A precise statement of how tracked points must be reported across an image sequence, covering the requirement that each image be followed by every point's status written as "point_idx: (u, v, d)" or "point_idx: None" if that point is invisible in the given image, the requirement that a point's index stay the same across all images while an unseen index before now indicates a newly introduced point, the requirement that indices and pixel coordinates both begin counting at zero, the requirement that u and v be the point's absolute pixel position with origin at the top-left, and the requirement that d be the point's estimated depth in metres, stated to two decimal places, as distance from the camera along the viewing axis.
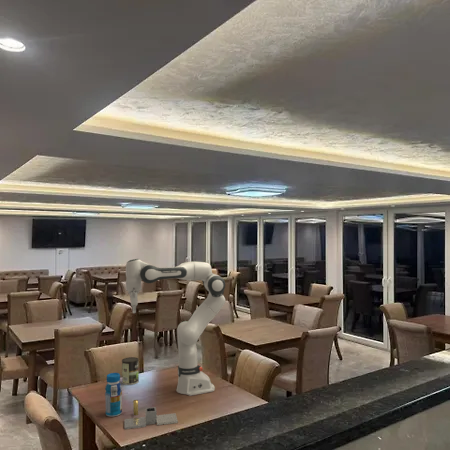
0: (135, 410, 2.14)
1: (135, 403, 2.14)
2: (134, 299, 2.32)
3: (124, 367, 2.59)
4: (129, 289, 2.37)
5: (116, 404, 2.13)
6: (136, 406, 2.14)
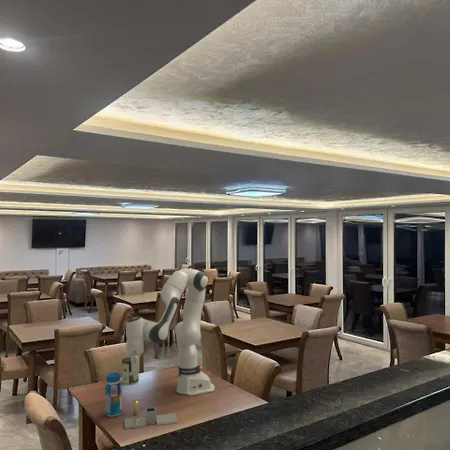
0: (135, 410, 2.14)
1: (135, 403, 2.14)
2: (135, 365, 2.06)
3: (124, 367, 2.59)
4: (130, 352, 2.11)
5: (116, 404, 2.13)
6: (136, 406, 2.14)
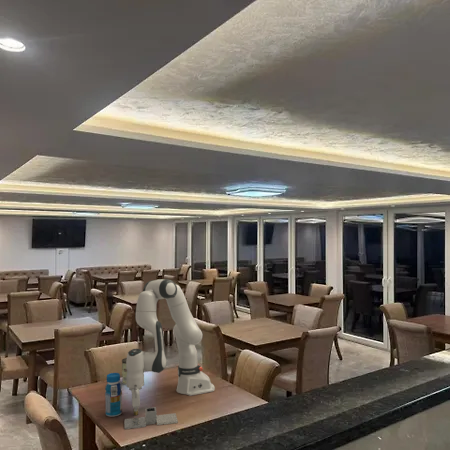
0: None
1: None
2: (136, 400, 2.05)
3: (124, 367, 2.59)
4: (130, 386, 2.11)
5: (116, 404, 2.13)
6: None
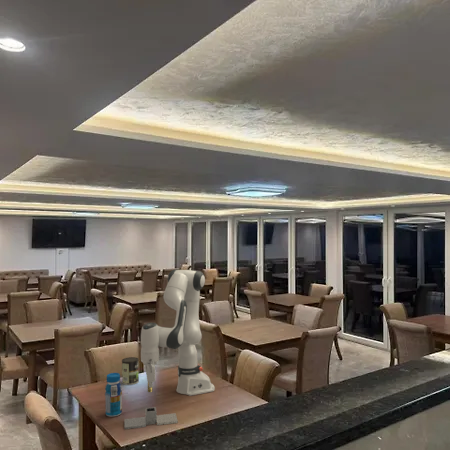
0: (149, 387, 2.05)
1: None
2: (151, 374, 1.97)
3: (124, 367, 2.59)
4: (145, 361, 2.02)
5: (116, 404, 2.13)
6: None
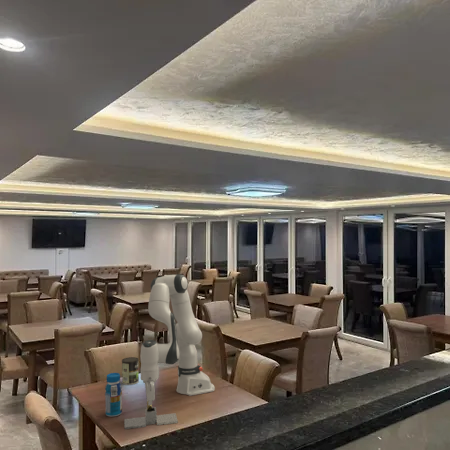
0: None
1: None
2: (151, 393, 1.96)
3: (124, 367, 2.59)
4: (144, 379, 2.02)
5: (116, 404, 2.13)
6: None
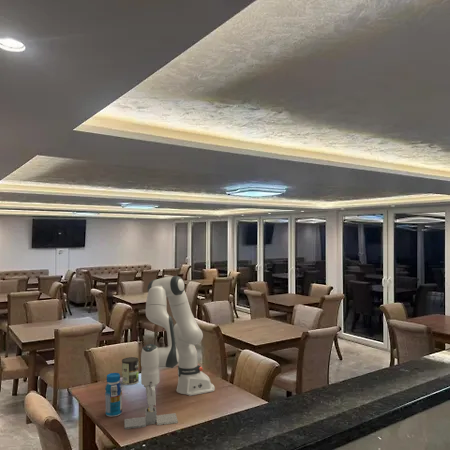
0: None
1: None
2: (152, 397, 1.96)
3: (124, 367, 2.59)
4: (145, 383, 2.02)
5: (116, 404, 2.13)
6: None
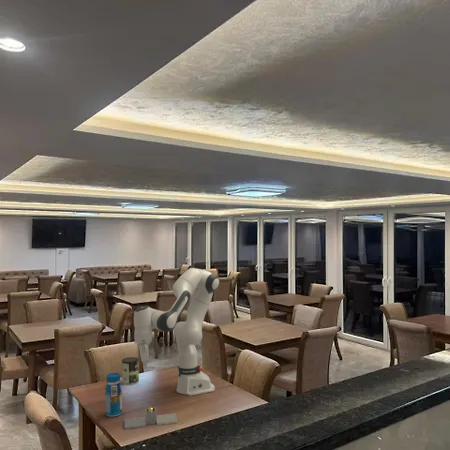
0: None
1: (150, 410, 2.05)
2: (145, 354, 2.06)
3: (124, 367, 2.59)
4: (138, 341, 2.11)
5: (116, 404, 2.13)
6: None
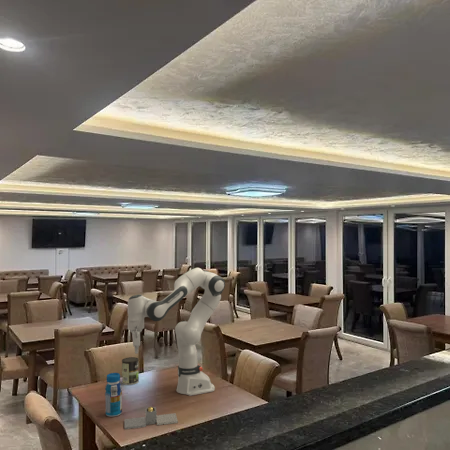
0: None
1: (150, 410, 2.05)
2: (136, 339, 2.18)
3: (124, 367, 2.59)
4: (131, 328, 2.23)
5: (116, 404, 2.13)
6: None
